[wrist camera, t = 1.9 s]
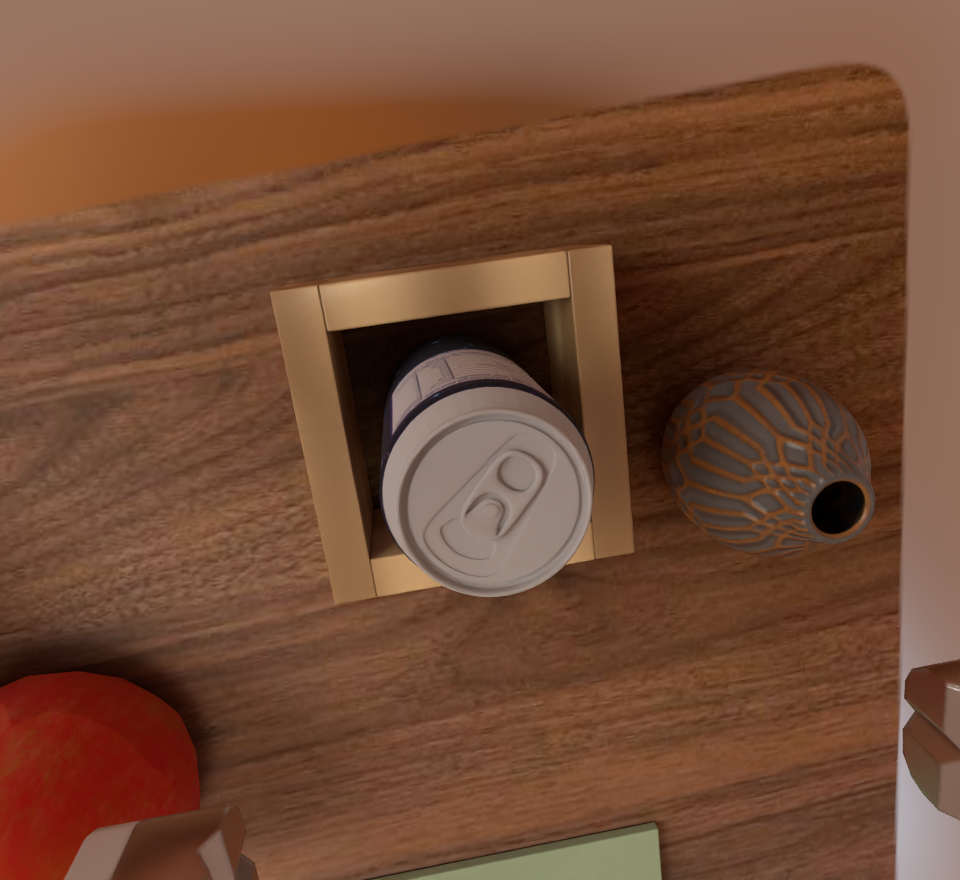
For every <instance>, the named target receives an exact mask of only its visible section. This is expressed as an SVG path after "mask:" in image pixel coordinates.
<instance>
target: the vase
mask: <svg viewBox="0 0 960 880" xmlns="http://www.w3.org/2000/svg"><path fill="white" fill-rule="evenodd" d="M661 461H662V468H663V474H664V478H665V481H666V484H667V486H668V489H669V491H670V493H671V495H672V497H673V499H674V501H675V502H676V504H677V505H678V507H679V508H680V509H681V511H682V512H683V513H684V514H685V516H686V517H687V518H688V519H689V520H690V521H691V522H692V523H693V524H694V525H695V526H696V527H697V528H699V529H700V530H701V531H702V532H704V533H705V534H706V535H708V536H709V537H710V538H712V539H714V540H716V541H717V542H719V543H721V544H723V545H725V546H728V547H730V548H733V549H736V550H738V551H742V552H746V553H749V554H754V555H760V556H768V557H783V556H792V555H797V554H802V553H805V552H809V551H811V550H814V549H816V548H819V547H821V546H823V545H825V544H836V543H842V542H845V541H848V540H850V539H852V538H854V537H855V536H857V535H858V534H859V533H860V532H862V531H863V530H864V529H865V527H866V526H867V525H868V523H869V522H870V520H871V518H872V516H873V513H874V509H875V494H874V490H873V488H872V486H871V484H870V479H871V461H870V454H869V449H868V445H867V442H866V439H865V437H864V435H863V433H862V431H861V429H860V427H859V425H858V423H857V422H856V420H855V419H854V418H853V416H852V415H851V414H850V412H849V411H848V410H847V409H846V408H845V407H844V406H843V405H842V404H841V403H840V402H839V401H838V400H837V399H836V398H835V397H834V396H833V395H831V394H830V393H829V392H828V391H826V390H825V389H823V388H821V387H820V386H818V385H817V384H815V383H813V382H811V381H809V380H806V379H804V378H801V377H799V376H796V375H793V374H789V373H786V372H781V371H776V370H769V369H744V370H736V371H732V372H728V373H724V374H721V375H718V376H716V377H713V378H711V379H709V380H707V381H705V382H704V383H702V384H700V385H699V386H698V387H696V388H695V389H693V390H692V391H691V392H690V393H689V394H687V395H686V396H685V397H684V398H683V400H682V401H681V402H680V403H679V404H678V406H677V407H676V408H675V410H674V411H673V413H672V415H671V417H670V419H669V421H668V423H667V426H666V428H665V432H664V436H663V441H662V448H661Z"/></svg>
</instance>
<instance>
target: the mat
mask: <svg viewBox="0 0 960 880" xmlns="http://www.w3.org/2000/svg"><path fill="white" fill-rule="evenodd" d="M371 880H662V877H661V863H660V849H659V836H658V828H657V826H656V823H655V822H652V823H647V824H642V825H637V826H632V827H627V828H622V829H617V830H612V831H607V832H602V833H597V834H592V835H588V836H583V837H578V838H573V839H568V840H563V841H558V842H553V843H548V844H543V845H538V846H533V847H528V848H524V849H519V850H514V851H509V852H504V853H499V854H494V855H489V856H484V857H479V858H474V859H469V860H464V861H459V862H455V863H450V864H445V865H440V866H435V867H430V868H425V869H420V870H415V871H410V872H405V873H400V874H395V875H390V876H386V877H381V878H376V879H371Z"/></svg>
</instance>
